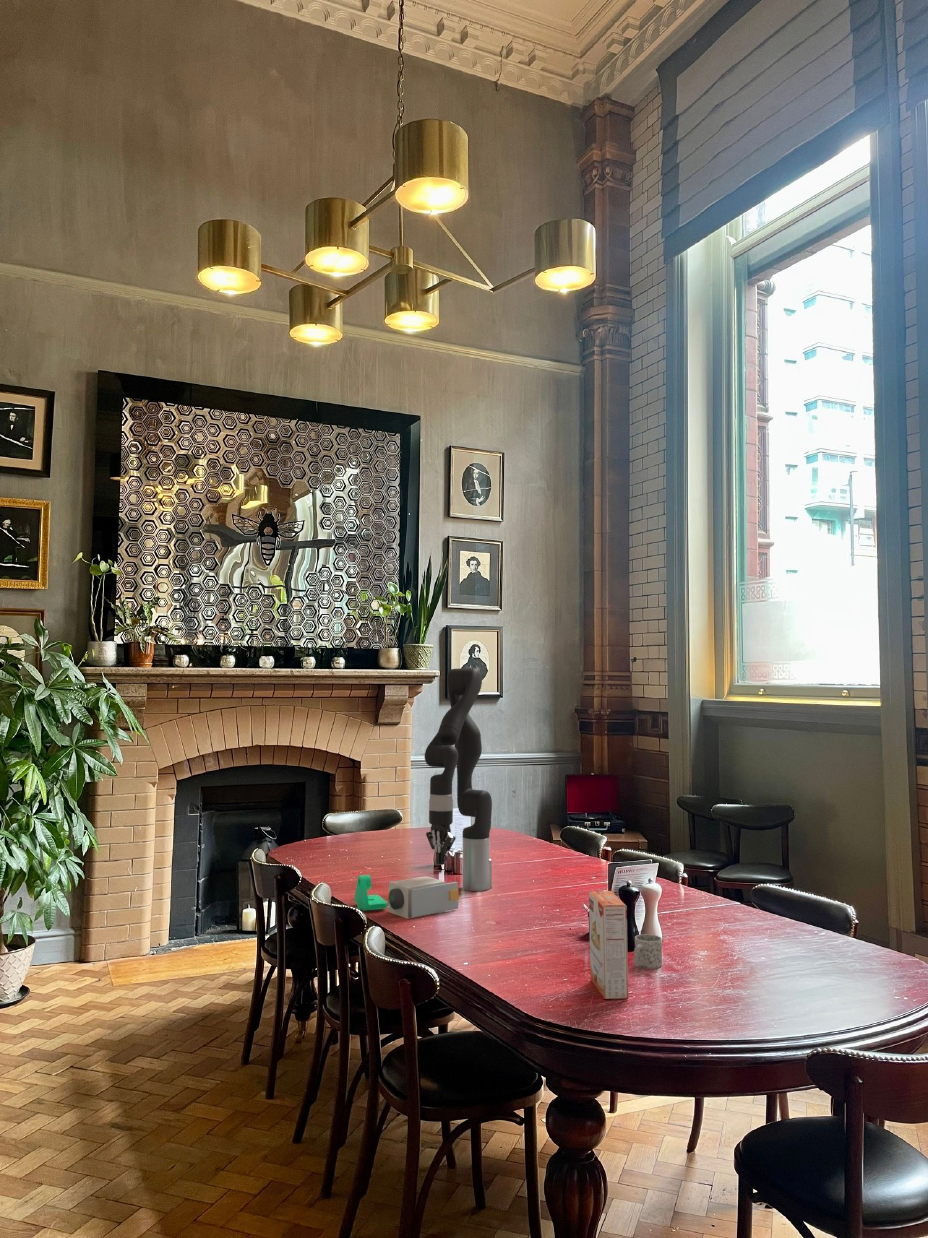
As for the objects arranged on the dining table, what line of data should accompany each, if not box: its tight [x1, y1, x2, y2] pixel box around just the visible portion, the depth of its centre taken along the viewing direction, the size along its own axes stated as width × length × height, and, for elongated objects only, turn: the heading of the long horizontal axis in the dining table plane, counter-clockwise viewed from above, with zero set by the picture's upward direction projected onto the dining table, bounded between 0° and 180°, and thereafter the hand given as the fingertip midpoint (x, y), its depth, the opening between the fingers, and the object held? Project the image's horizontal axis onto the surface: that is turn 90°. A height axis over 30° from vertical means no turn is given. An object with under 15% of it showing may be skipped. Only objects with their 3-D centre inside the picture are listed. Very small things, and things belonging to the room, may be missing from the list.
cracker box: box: [588, 890, 629, 1000], centre depth 212 cm, size 14×6×21 cm, turn 5°
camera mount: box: [354, 874, 388, 911], centre depth 287 cm, size 12×8×10 cm, turn 20°
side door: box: [409, 881, 459, 919], centre depth 279 cm, size 18×2×8 cm, turn 129°
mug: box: [633, 933, 663, 970], centre depth 229 cm, size 10×7×7 cm, turn 141°
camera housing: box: [388, 875, 446, 920], centre depth 282 cm, size 16×10×9 cm, turn 129°
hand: (440, 864), depth 289 cm, fingers closed
